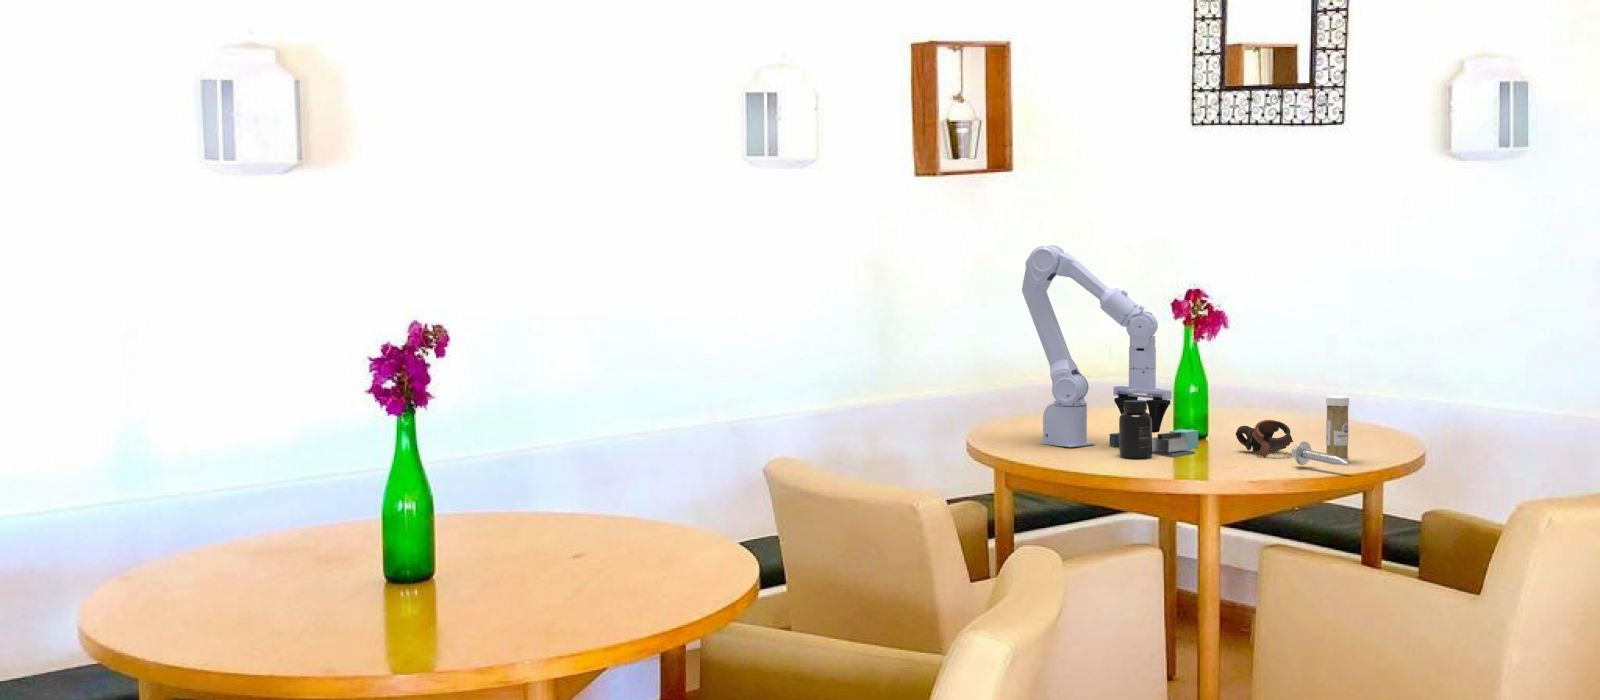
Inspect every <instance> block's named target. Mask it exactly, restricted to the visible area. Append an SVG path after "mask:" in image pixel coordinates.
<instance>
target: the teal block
mask: <svg viewBox="0 0 1600 700" xmlns="http://www.w3.org/2000/svg"><path fill="white" fill-rule="evenodd" d="M1171 432H1181V437H1185V438H1188V451H1192V450H1194V449H1199V430H1196V429H1184V428H1182V429H1181V428H1180V429H1175V430H1169V433H1171Z"/></svg>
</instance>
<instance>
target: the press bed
mask: <svg viewBox="0 0 1600 700" xmlns="http://www.w3.org/2000/svg"><path fill="white" fill-rule="evenodd" d="M1109 447H1112V448H1116V449H1119V432H1113V433H1109ZM1195 453H1196V451H1194V450H1183V451H1175V452H1162V451H1155V450H1152V455H1156V456H1162V457H1165V458H1166V457H1167V458H1172V459H1173V458H1180V457H1184V456H1185V455H1186V456H1190V455H1191V456H1192V455H1195Z"/></svg>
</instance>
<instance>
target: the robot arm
mask: <svg viewBox="0 0 1600 700" xmlns="http://www.w3.org/2000/svg"><path fill="white" fill-rule="evenodd" d="M1057 276H1059V277H1065V278H1070V279H1071V280H1073V281H1075V282H1076V283H1077V284H1078V285H1080V286H1081V287H1082V288H1083V289H1084V290H1086V291H1087V292H1089V293H1090V294H1091V295H1093V296H1094V297H1095V298H1097V300H1099V305H1100V306H1099V307H1100V309H1101V310H1102V311H1103V312H1104V313H1105V314H1106V315H1108V316H1109V318H1110V317H1111V319H1113V320H1114V322H1116V323H1117V324H1118V325H1120V326H1121V327H1123V328H1125V329H1126V332H1127V334H1128V336H1129V347H1128V386H1124V385H1123V386H1121V385H1117V386H1115V385H1114V386H1113V390H1112V391H1113V393H1112V395H1113V396H1116V397H1115V398H1113V399H1114V403H1115V405H1116V406H1117V408H1118V410H1119V413H1120V416H1121V415H1122V414H1123V413H1124V412H1125V410H1124V409H1123V407H1124V401H1126V400H1139V398H1144V399H1146V398H1147V399H1146V400H1145V401H1147V410H1148V414H1149V415H1150V416H1151V418H1152V434H1154V433H1155V434H1156V433H1159V432H1160V430H1161V426H1162V422H1163V419H1164V416H1165V414H1166V412H1167V409H1168V407H1169V406H1170V404H1171V400H1172V393H1173V392H1172V390H1169V389H1162V388H1157V386H1156V382H1157V381H1156V380H1157V379H1156V377H1157V376H1156V375H1157V372H1156V371H1157V366H1156V365H1157V363H1156V362H1157V349H1156V348H1157V347H1156V342H1157V341H1156V335H1155V334H1156V333H1157V332H1158V331H1157V330H1158V327H1159V326H1158V324H1159V323H1158V321H1157V320H1158V319H1157V318H1156V316H1154V314H1153V312H1150V311H1146V310H1145V307H1144V306H1143V305H1139V304H1137V303H1136V302H1135V301H1134V300H1133V299H1132V298H1130V297H1129V296H1128V294H1129V292H1128V291H1127V290H1125V289H1122V290H1121V289H1119V288H1109V287H1108V286H1107V285H1106V284H1104V282H1102V280H1100V278H1098V277H1097V276H1095V274H1093V273H1092V271H1090V270H1089V268H1087V267H1086V266H1085V265H1083V264H1082V263H1081V262H1080V261H1079V260H1078V259H1076V258H1075V256H1072V255H1071V254H1069V252H1065V251H1064V250H1063V248H1061V247H1059V246H1057V245H1053V244H1051V245H1047V246H1046V245H1041V246H1037V247H1036V248H1034V249H1033V250H1032V251H1031V253H1029V256H1028V258H1027V259H1026V260H1025V272H1024V276H1023V282H1022V287H1021V291H1022V295H1023V297H1024V300H1025V303H1026V306H1027V309H1028V310H1029V313H1030V314H1029V315H1030V317H1031V319H1032V322H1033V324H1034V328H1035V330H1036V333H1037V335H1038V339H1039V341H1040V343H1041V345H1042V348H1043V351H1044V354H1045V357H1046V359H1047V362H1048V364H1049V376H1050V378H1051V381H1052V382H1051V383H1052V386H1051V392H1052V396H1053V398H1054V399H1055V400H1054V401H1053V403H1049V405H1047V406H1046V407H1045V409H1044V411H1043V416H1042V441H1041V440H1040V444H1042V445H1048V446H1049V445H1050V446H1056V447H1064V448H1075V447H1086V446H1094V445H1096V442H1094V441H1088V436H1087V435H1088V422H1087V421H1088V405H1087V404H1088V403H1087V401H1086V399H1085V397H1086V395H1087V394H1088V392H1089V381H1088V379H1087V378H1086V377H1085V376H1084V375H1083V374H1082V373H1081V372H1080V370H1079V367H1078V366H1077V365H1078V364H1076V362H1075V360H1073V358H1072V356H1071V352H1070V350H1069V348H1068V344H1067V342H1066V340H1065V338H1064V334H1063V332H1062V329H1061V326H1060V324H1059V322H1058V319H1057V316H1056V313H1055V311H1054V308H1053V305H1052V303H1051V301H1050V297H1049V295H1048V292H1047V291H1048V289H1049V287H1050V286H1051V283H1052V282H1053V280H1054V278H1055V277H1057Z"/></svg>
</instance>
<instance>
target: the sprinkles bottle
mask: <svg viewBox="0 0 1600 700" xmlns="http://www.w3.org/2000/svg"><path fill="white" fill-rule="evenodd" d="M1325 400H1326V401H1325V405H1326V420H1325V421H1326V422H1325V424H1326V429H1325V431H1326V434H1325V435H1326V436H1325V437H1326V439H1325V440H1326V441H1325V443H1326V444H1325V445H1326V452H1325V453H1326V454H1331V455H1336V456H1338V457H1339V458H1344V459H1348V460H1349V457H1348V455H1349V454H1348V453H1349V406H1350V397H1349V396H1347V395H1336V394H1335V395H1327V396H1326V399H1325Z"/></svg>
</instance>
